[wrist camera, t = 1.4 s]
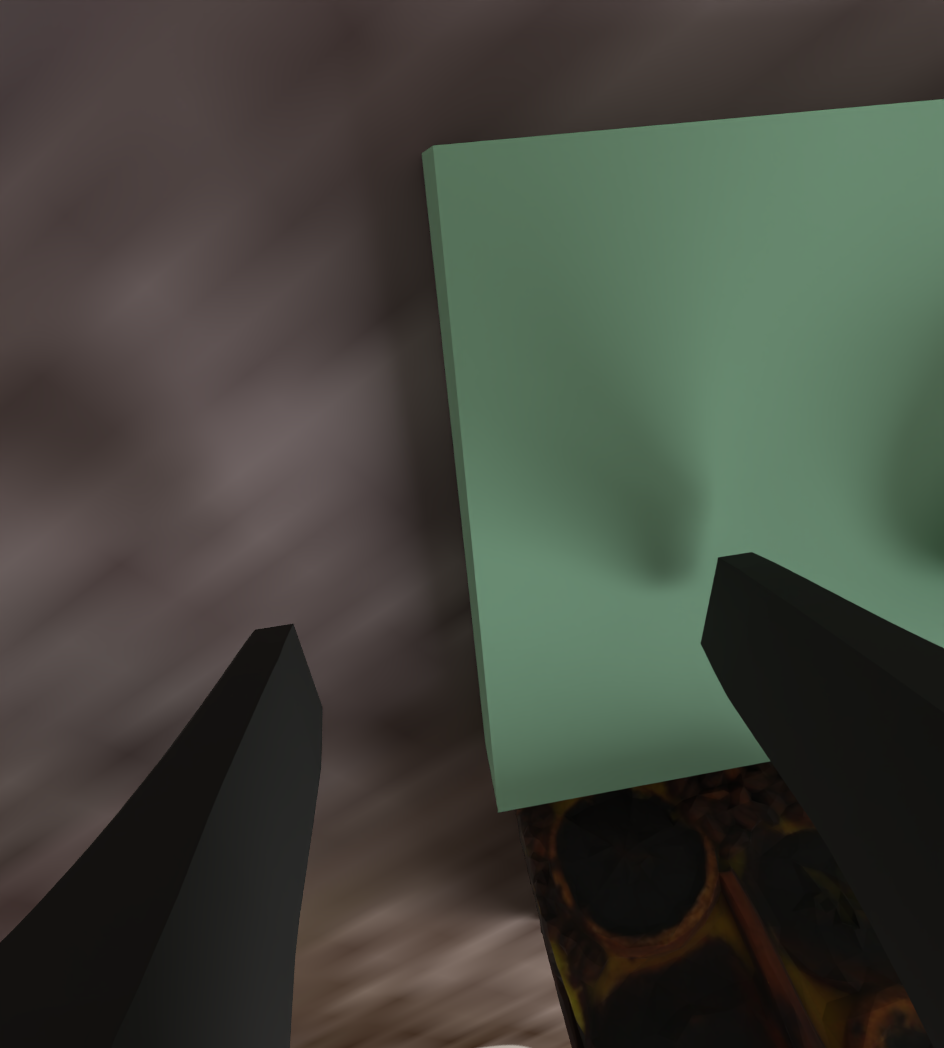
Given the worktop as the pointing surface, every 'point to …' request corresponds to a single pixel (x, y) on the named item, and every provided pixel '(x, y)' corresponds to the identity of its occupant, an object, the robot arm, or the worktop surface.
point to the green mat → (683, 412)
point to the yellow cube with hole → (707, 921)
